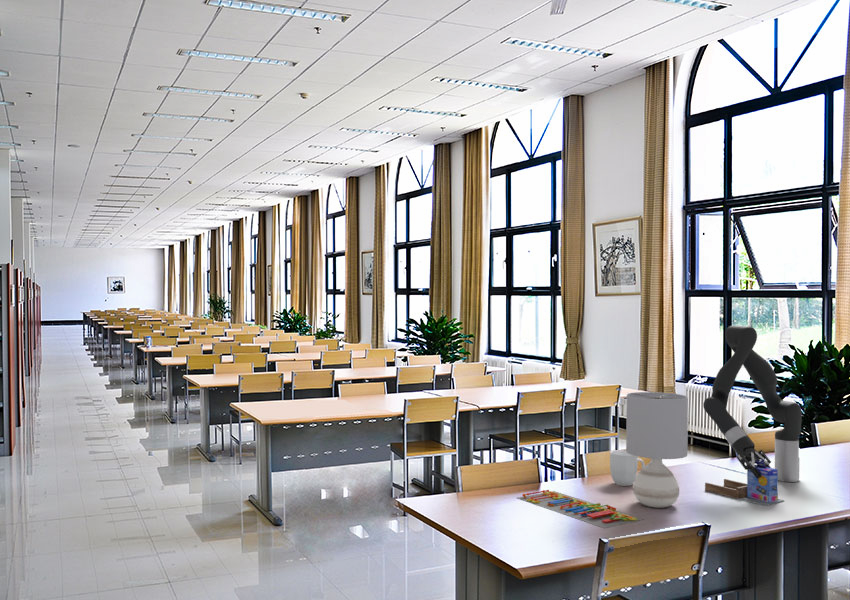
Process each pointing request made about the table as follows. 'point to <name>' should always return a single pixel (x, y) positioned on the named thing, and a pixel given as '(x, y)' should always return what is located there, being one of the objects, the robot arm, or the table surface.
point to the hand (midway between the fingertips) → (766, 476)
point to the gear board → (579, 509)
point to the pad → (760, 501)
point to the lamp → (656, 443)
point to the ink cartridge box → (763, 484)
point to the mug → (623, 467)
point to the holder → (729, 488)
